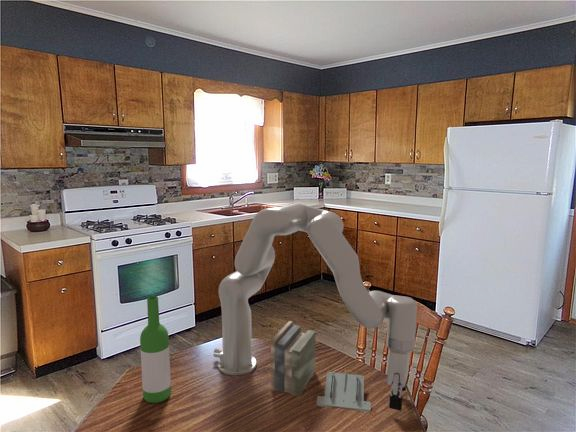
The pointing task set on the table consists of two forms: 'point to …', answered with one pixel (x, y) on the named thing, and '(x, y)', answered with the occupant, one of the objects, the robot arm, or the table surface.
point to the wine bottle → (155, 356)
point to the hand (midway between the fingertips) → (397, 398)
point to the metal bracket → (344, 392)
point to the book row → (292, 359)
